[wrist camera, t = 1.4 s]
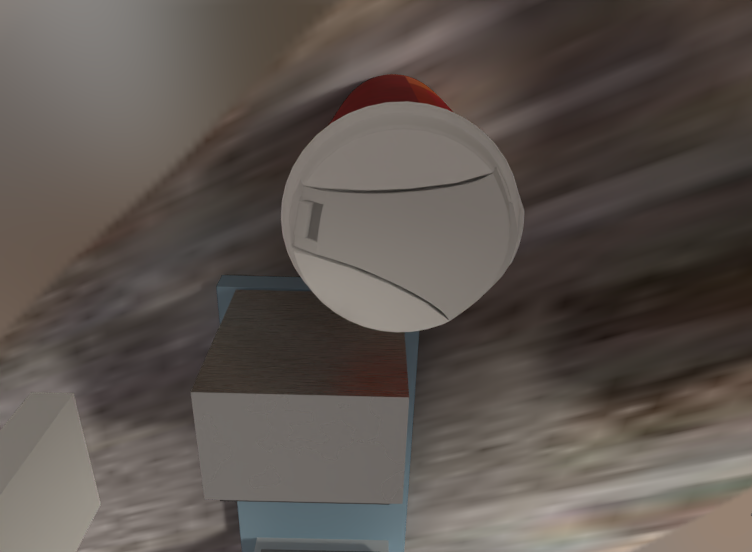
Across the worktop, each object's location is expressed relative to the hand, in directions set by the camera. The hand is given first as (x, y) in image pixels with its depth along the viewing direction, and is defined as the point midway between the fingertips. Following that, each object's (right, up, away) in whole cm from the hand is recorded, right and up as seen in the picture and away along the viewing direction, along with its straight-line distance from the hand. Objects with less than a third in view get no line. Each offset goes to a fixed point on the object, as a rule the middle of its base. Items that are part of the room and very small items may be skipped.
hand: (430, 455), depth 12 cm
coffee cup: (0, +11, +22) cm, 25 cm away
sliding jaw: (-4, -1, +26) cm, 26 cm away
